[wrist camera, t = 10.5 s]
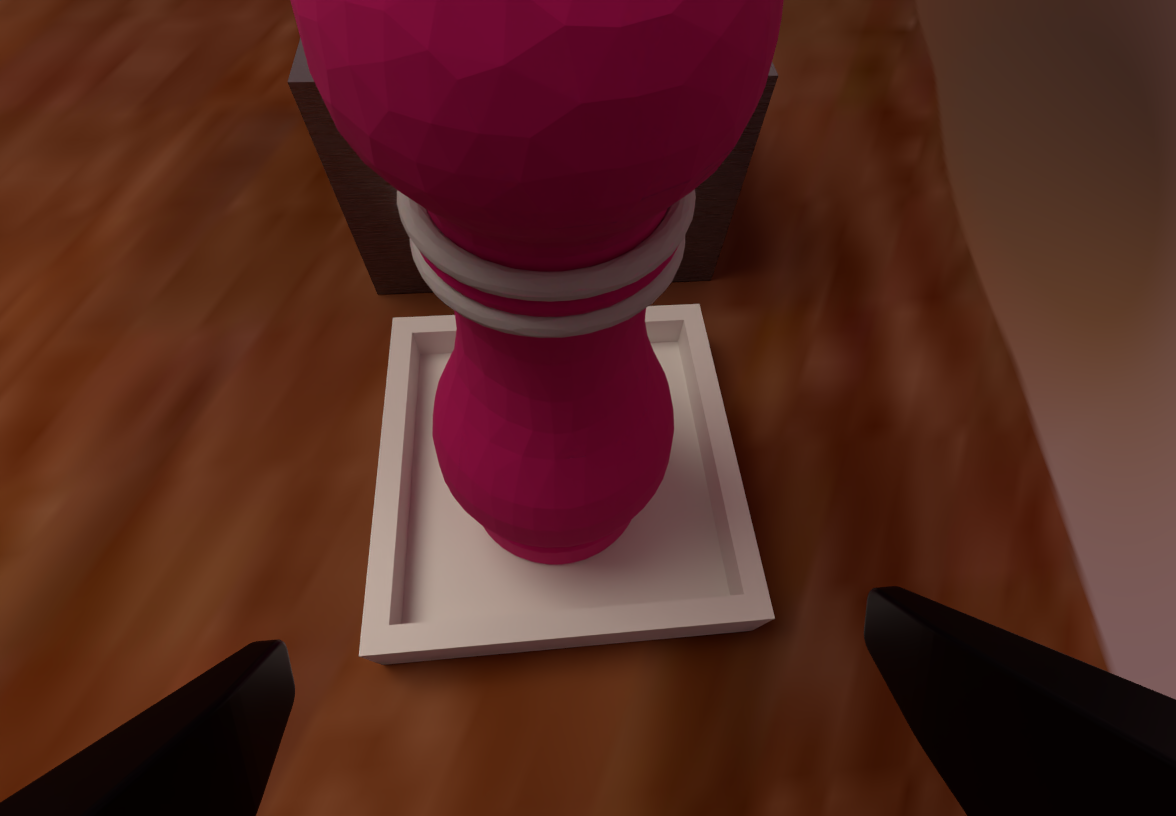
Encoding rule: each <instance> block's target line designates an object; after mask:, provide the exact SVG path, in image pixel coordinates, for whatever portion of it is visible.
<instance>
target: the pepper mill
mask: <svg viewBox="0 0 1176 816" xmlns="http://www.w3.org/2000/svg"><path fill="white" fill-rule="evenodd" d="M291 4H292V7H293V11H294V15H295V19H296V22H297V26H298V30H299V34H300V37H301V41H302V45H303V49H304V52H305V56H306V60H307V64H308V67H309V71H310V74H311V76H312V78H313V80H314V82H315V84H316V86H317V88H318V90H319V92H320V94H321V96H322V99H323V101H324V103H325V105H326V107H327V109H328V111H329V113H330V115H331V117H332V119H333V121H334V123H335V125H336V127H337V129H338V131H339V133H340V134H341V135H342V136H343V138H344V139H345V140H346V141H347V143H348V144H349V145H350V146H351V148H352V149H353V150H354V151H355V152H356V154H357V155H358V156H359V157H360V159H361V160H362V161H363V162H364V163H365V164H366V165H367V166H368V167H370V168H371V169H372V170H373V171H374V172H376V173H377V174H378V175H379V176H380V177H382V178H383V179H384V180H385V181H386V182H388V183H389V184H390V185H391V186H392V187H394V188H395V189H396V190H397V206H398V210H399V214H400V219H401V222H402V224H403V226H404V228H405V230H406V232H407V234H408V236H409V237H410V247H411V252H412V256H413V259H414V262H415V264H416V266H417V268H418V270H419V272H420V274H421V276H422V278H423V280H424V281H425V282H426V283H427V285H428V286H429V287H430V289H431V290H432V291H433V292H434V294H435V295H436V296H437V297H438V298H439V299H440V300H442V301H443V302H444V303H445V304H446V305H448V306H449V307H451V308H452V309H453V310H454V312H455V319H456V327H457V329H456V337H455V345H454V350H453V352H452V354H451V356H450V358H449V360H448V362H447V364H446V366H445V368H444V370H443V373H442V375H441V377H440V379H439V382H438V386H437V390H436V395H435V400H434V408H433V427H432V437H433V441H434V445H435V450H436V454H437V458H438V462H439V466H440V469H441V472H442V475H443V478H444V481H445V483H446V484H447V486H448V488H449V490H450V492H451V493H452V495H453V497H454V498H455V499H456V501H457V502H458V503H459V504H460V505H461V507H462V508H463V509H464V510H465V511H466V512H467V513H468V514H469V515H470V516H471V517H473V518H474V519H475V520H476V521H477V522H479V523H480V524H481V525H482V526H483V527H484V529H485V530H486V532H487V533H488V534H489V536H490V537H491V538H492V539H493V540H494V541H495V542H496V543H498V544H499V545H500V546H501V547H502V548H504V549H505V550H507V551H508V552H510V553H512V554H514V555H515V556H518V557H520V558H523V559H526V560H529V561H532V562H537V563H543V564H549V565H558V564H568V563H574V562H577V561H581V560H585V559H587V558H589V557H592V556H594V555H596V554H598V553H600V552H601V551H603V550H605V549H606V548H607V547H609V546H610V545H611V544H613V543H614V542H615V541H616V540H617V539H618V538H619V537H620V536H621V534H622V533H623V532H624V531H625V529H626V528H627V526H628V525H629V523H630V522H631V520H632V519H633V518H634V517H635V516H636V515H637V514H638V513H639V512H640V511H641V510H642V509H643V508H644V507H645V506H646V505H647V503H648V502H649V501H650V500H651V498H652V497H653V496H654V494H655V493H656V491H657V489H658V487H659V486H660V484H661V482H662V480H663V478H664V475H665V472H666V469H667V466H668V463H669V458H670V453H671V447H672V441H673V435H674V410H673V404H672V399H671V394H670V389H669V384H668V381H667V378H666V375H665V372H664V370H663V368H662V366H661V364H660V362H659V361H658V359H657V357H656V355H655V353H654V351H653V348H652V346H651V343H650V341H649V338H648V335H647V330H646V324H645V315H646V307H648V306H649V305H651V304H652V303H653V302H654V301H655V300H656V299H657V298H658V297H659V296H660V295H661V294H662V293H663V292H664V291H665V290H666V288H667V287H668V286H669V285H670V283H671V282H672V280H673V278H674V276H675V274H676V272H677V270H678V268H679V266H680V263H681V261H682V258H683V253H684V248H685V234H686V232H687V230H688V228H689V226H690V223H691V221H692V219H693V214H694V208H695V199H696V195H695V188H697V187H698V186H699V185H700V184H701V183H703V182H704V181H705V180H706V179H707V178H708V177H710V176H711V175H712V174H713V173H714V172H715V171H716V170H717V169H718V167H719V166H720V165H721V164H722V162H723V161H724V160H725V159H726V157H727V156H728V155H729V154H730V152H731V151H732V150H733V149H734V147H735V145H736V144H737V142H738V140H739V138H740V136H741V135H742V133H743V131H744V129H745V127H746V126H747V124H748V122H749V120H750V118H751V117H752V115H753V113H754V111H755V109H756V107H757V105H758V103H759V100H760V98H761V96H762V93H763V91H764V89H765V86H766V82H767V78H768V74H769V71H770V67H771V63H772V59H773V55H774V52H775V48H776V44H777V40H778V34H779V29H780V23H781V17H782V8H783V0H291Z"/></svg>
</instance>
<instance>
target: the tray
mask: <svg viewBox="0 0 1176 816" xmlns="http://www.w3.org/2000/svg"><path fill="white" fill-rule="evenodd" d="M645 324H646V330H647V335H648V338H649V341H650V343H651V346H652V348H653V351H654V353H655V355H656V357H657V359H658V361H659V362H660V364H661V366H662V368H663V370H664V372H665V375H666V378H667V381H668V384H669V389H670V394H671V399H672V404H673V410H674V435H673V441H672V447H671V453H670V458H669V463H668V466H667V469H666V472H665V475H664V478H663V480H662V482H661V484H660V486H659V487H658V489H657V491H656V493H655V494H654V496H653V497H652V498H651V500H650V501H649V502H648V503H647V505H646V506H645V507H644V508H643V509H642V510H641V511H640V512H639V513H638V514H637V515H636V516H635V517H634V518H633V519H632V520H631V522H630V523H629V525H628V526H627V528H626V529H625V531H624V532H623V533H622V534H621V536H620V537H619V538H618V539H617V540H616V541H615V542H614V543H613V544H611V545H610V546H609V547H607V548H606V549H605V550H603V551H601V552H600V553H598V554H596V555H594V556H592V557H589V558H587V559H585V560H581V561H577V562H574V563H568V564H558V565H549V564H543V563H537V562H532V561H529V560H526V559H523V558H520V557H518V556H515V555H514V554H512V553H510V552H508V551H507V550H505V549H504V548H502V547H501V546H500V545H499V544H498V543H496V542H495V541H494V540H493V539H492V538H491V537H490V536H489V534H488V533H487V532H486V530H485V529H484V527H483V526H482V525H481V524H480V523H479V522H477V521H476V520H475V519H474V518H473V517H471V516H470V515H469V514H468V513H467V512H466V511H465V510H464V509H463V508H462V507H461V505H460V504H459V503H458V502H457V501H456V499H455V498H454V497H453V495H452V493H451V492H450V490H449V488H448V486H447V484H446V483H445V481H444V478H443V475H442V472H441V469H440V466H439V462H438V458H437V454H436V450H435V445H434V441H433V437H432V427H433V408H434V400H435V395H436V390H437V386H438V382H439V379H440V377H441V375H442V373H443V370H444V368H445V366H446V364H447V362H448V360H449V358H450V356H451V354H452V352H453V350H454V345H455V337H456V329H457V327H456V319H455V315H444V316H422V317H400V318H393V322H392V332H391V342H390V352H389V362H388V372H387V382H386V392H385V402H384V412H383V421H382V431H381V441H380V451H379V461H378V471H377V481H376V491H375V501H374V511H373V520H372V530H371V540H370V550H369V560H368V570H367V580H366V590H365V600H364V609H363V619H362V629H361V639H360V649H359V657H362V658H365V659H368V660H370V661H373V662H376V663H379V664H381V665H386V664H397V663H408V662H419V661H430V660H440V659H451V658H462V657H473V656H484V655H495V654H505V653H516V652H527V651H538V650H549V649H560V648H571V647H581V646H592V645H603V644H614V643H625V642H636V641H646V640H657V639H668V638H679V637H690V636H701V635H711V634H722V633H733V632H744V631H752V630H754V629H756V628H758V627H760V626H762V625H764V624H765V623H767V622H769V621H771V620H773V619H775V617H774V613H773V608H772V604H771V600H770V596H769V592H768V588H767V583H766V579H765V575H764V571H763V567H762V563H761V558H760V554H759V550H758V546H757V542H756V538H755V533H754V529H753V525H752V521H751V517H750V513H749V508H748V504H747V500H746V496H745V492H744V488H743V484H742V479H741V475H740V471H739V467H738V463H737V459H736V454H735V450H734V446H733V442H732V438H731V434H730V429H729V425H728V421H727V417H726V413H725V409H724V404H723V400H722V396H721V392H720V388H719V384H718V379H717V375H716V371H715V367H714V363H713V359H712V354H711V350H710V346H709V342H708V338H707V334H706V330H705V325H704V321H703V317H702V313H701V309H700V305H699V304H686V305H664V306H648V307H646V315H645Z"/></svg>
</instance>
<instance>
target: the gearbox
mask: <svg viewBox="0 0 1176 816" xmlns="http://www.w3.org/2000/svg"><path fill="white" fill-rule="evenodd" d="M777 78H778V74H777V72H776V69H775V67H774V65H773V63H771V67H770V71H769V74H768V78H767V82H766V86H765V89H764V91H763V93H762V96H761V98H760V100H759V103H758V105H757V107H756V109H755V111H754V113H753V115H752V117H751V118H750V120H749V122H748V124H747V126H746V127H745V129H744V131H743V133H742V135H741V136H740V138H739V140H738V142H737V144H736V145H735V147H734V149H733V150H732V151H731V152H730V154H729V155H728V156H727V157H726V159H725V160H724V161H723V162H722V164H721V165H720V166H719V167H718V169H717V170H716V171H715V172H714V173H713V174H712V175H711V176H710V177H708V178H707V179H706V180H705V181H704V182H703V183H701V184H700V185H699V186H698V187H697V188H695V195H696V199H695V208H694V214H693V219H692V221H691V223H690V226H689V228H688V230H687V232H686V234H685V248H684V253H683V258H682V261H681V263H680V266H679V268H678V270H677V272H676V274H675V276H674V278H673V280H672V282H679V281H703V280H711V278H712V275H713V272H714V269H715V266H716V263H717V260H718V257H719V254H720V251H721V248H722V245H723V242H724V239H725V236H726V233H727V230H728V227H729V224H730V221H731V218H732V215H733V211H734V208H735V205H736V202H737V199H738V196H739V193H740V190H741V187H742V184H743V181H744V178H745V175H746V172H747V169H748V166H749V163H750V160H751V157H752V154H753V151H754V148H755V145H756V142H757V139H758V135H759V132H760V129H761V126H762V123H763V120H764V117H765V114H766V111H767V108H768V105H769V102H770V99H771V96H772V93H773V90H774V87H775V84H776V81H777ZM288 84H289V87H290V89H291V91H292V94H293V96H294V98H295V101H296V103H297V105H298V108H299V110H300V113H301V115H302V117H303V120H304V122H305V124H306V127H307V129H308V131H309V134H310V136H311V138H312V141H313V143H314V146H315V148H316V150H317V153H318V155H319V157H320V160H321V162H322V164H323V167H324V169H325V171H326V174H327V176H328V178H329V181H330V183H331V186H332V188H333V190H334V193H335V195H336V197H337V200H338V202H339V204H340V207H341V209H342V211H343V214H344V216H345V219H346V221H347V223H348V226H349V228H350V230H351V233H352V235H353V237H354V240H355V242H356V244H357V247H358V249H359V251H360V254H361V256H362V259H363V261H364V263H365V266H366V268H367V270H368V273H369V275H370V277H371V280H372V282H373V284H374V287H375V289H376V292H377V294H395V293H419V292H433V291H432V290H431V289H430V287H429V286H428V285H427V283H426V282H425V281H424V280H423V278H422V276H421V274H420V272H419V270H418V268H417V266H416V264H415V262H414V259H413V256H412V252H411V247H410V237H409V236H408V234H407V232H406V230H405V228H404V226H403V224H402V222H401V219H400V214H399V210H398V206H397V190H396V189H395V188H394V187H392V186H391V185H390V184H389V183H388V182H386V181H385V180H384V179H383V178H382V177H380V176H379V175H378V174H377V173H376V172H374V171H373V170H372V169H371V168H370V167H368V166H367V165H366V164H365V163H364V162H363V161H362V160H361V159H360V157H359V156H358V155H357V154H356V152H355V151H354V150H353V149H352V148H351V146H350V145H349V144H348V143H347V141H346V140H345V139H344V138H343V136H342V135H341V134H340V133H339V131H338V129H337V127H336V125H335V123H334V121H333V119H332V117H331V115H330V113H329V111H328V109H327V107H326V105H325V103H324V101H323V99H322V96H321V94H320V92H319V90H318V88H317V86H316V84H315V82H314V80H313V78H312V76H311V74H310V71H309V67H308V64H307V60H306V56H305V52H304V49H303V45H302V41H301V38H300V42H299V45H298V48H297V52H296V55H295V59H294V62H293V65H292V69H291V72H290V76H289V79H288Z"/></svg>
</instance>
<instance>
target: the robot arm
mask: <svg viewBox="0 0 1176 816" xmlns="http://www.w3.org/2000/svg"><path fill="white" fill-rule="evenodd" d="M864 639H865V643H866V646H867V649H868V651H869V653H870V654H871V656H872V658H873V660H874V662H875V664H876V665H877V667H878V669H879V671H880V673H881V675H882V677H883V678H884V680H885V682H886V684H887V686H888V688H889V689H890V691H891V693H892V695H893V697H894V699H895V700H896V702H897V704H898V706H899V708H900V710H901V712H902V713H903V715H904V717H905V719H906V721H907V723H908V724H909V726H910V728H911V730H912V731H913V733H914V735H915V736H916V738H917V740H918V742H919V743H920V745H921V746H922V748H923V749H924V751H925V753H926V754H927V756H928V757H929V759H930V760H931V762H932V763H933V765H934V766H935V768H936V769H937V771H938V772H939V774H940V775H941V777H942V778H943V780H944V781H945V783H946V784H947V786H948V787H949V789H950V790H951V792H952V793H953V795H954V796H955V798H956V799H957V801H958V802H959V804H960V805H961V807H962V808H963V810H964V811H965V813H966V814H967V816H1176V700H1175V699H1173V698H1170V697H1168V696H1165V695H1163V694H1160V693H1158V692H1156V691H1153V690H1151V689H1148V688H1146V687H1143V686H1141V685H1139V684H1136V683H1134V682H1131V681H1129V680H1126V679H1124V678H1121V677H1119V676H1116V675H1114V674H1112V673H1109V672H1107V671H1104V670H1102V669H1099V668H1097V667H1094V666H1092V665H1090V664H1087V663H1085V662H1082V661H1080V660H1077V659H1075V658H1072V657H1070V656H1067V655H1065V654H1063V653H1060V652H1058V651H1055V650H1053V649H1050V648H1048V647H1045V646H1043V645H1040V644H1038V643H1036V642H1033V641H1031V640H1028V639H1026V638H1023V637H1021V636H1018V635H1016V634H1014V633H1011V632H1009V631H1006V630H1004V629H1001V628H999V627H996V626H994V625H991V624H989V623H987V622H984V621H982V620H979V619H977V618H974V617H972V616H969V615H967V614H965V613H962V612H960V611H957V610H955V609H952V608H950V607H947V606H945V605H942V604H940V603H938V602H935V601H933V600H930V599H928V598H925V597H923V596H920V595H918V594H915V593H913V592H911V591H908V590H906V589H903V588H901V587H897V586H891V587H880V588H873V589H872V590H871V591H870V592H869V594H868V598H867V607H866V617H865V626H864ZM294 697H295V684H294V679H293V674H292V669H291V664H290V660H289V655H288V650H287V647H286V645H285V643H284V642H283V641H281V640H267V641H256V642H252V643H250V644H248V645H247V646H245V647H244V648H242V649H241V650H239V651H237V652H236V653H234V654H233V655H231V656H230V657H228V658H226V659H225V660H223V661H222V662H220V663H219V664H217V665H215V666H214V667H212V668H211V669H209V670H208V671H206V672H204V673H203V674H201V675H200V676H198V677H197V678H195V679H194V680H192V681H190V682H189V683H187V684H186V685H184V686H183V687H181V688H179V689H178V690H176V691H175V692H173V693H172V694H170V695H168V696H167V697H165V698H164V699H162V700H161V701H159V702H157V703H156V704H154V705H153V706H151V707H150V708H148V709H146V710H145V711H143V712H142V713H140V714H139V715H137V716H135V717H134V718H132V719H131V720H129V721H128V722H126V723H124V724H123V725H121V726H120V727H118V728H117V729H115V730H113V731H112V732H110V733H109V734H107V735H106V736H104V737H102V738H101V739H99V740H98V741H96V742H95V743H93V744H91V745H90V746H88V747H87V748H85V749H84V750H82V751H80V752H79V753H77V754H76V755H74V756H73V757H71V758H69V759H68V760H66V761H65V762H63V763H62V764H60V765H59V766H57V767H55V768H54V769H52V770H51V771H49V772H48V773H46V774H44V775H43V776H41V777H40V778H38V779H37V780H35V781H33V782H32V783H30V784H29V785H27V786H26V787H24V788H22V789H21V790H19V791H18V792H16V793H15V794H13V795H11V796H10V797H8V798H7V799H5V800H4V801H2V802H0V816H256V814H257V811H258V808H259V805H260V803H261V800H262V797H263V794H264V791H265V788H266V785H267V782H268V779H269V776H270V773H271V770H272V767H273V764H274V761H275V758H276V755H277V752H278V749H279V746H280V743H281V739H282V736H283V733H284V730H285V727H286V724H287V721H288V718H289V715H290V712H291V709H292V706H293V702H294Z"/></svg>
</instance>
